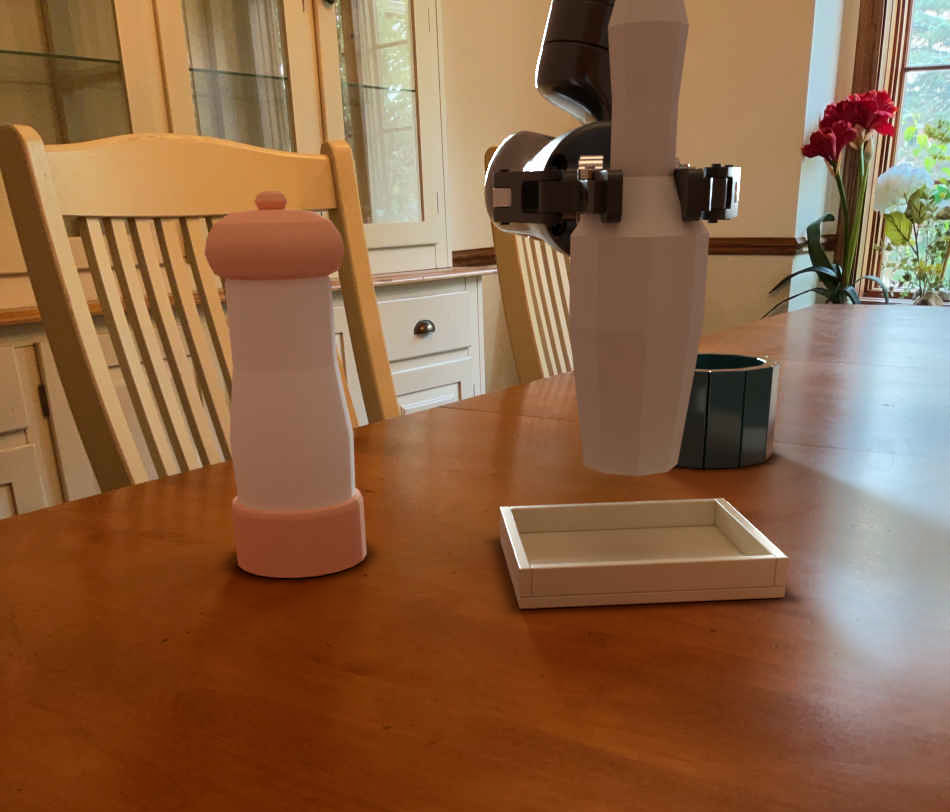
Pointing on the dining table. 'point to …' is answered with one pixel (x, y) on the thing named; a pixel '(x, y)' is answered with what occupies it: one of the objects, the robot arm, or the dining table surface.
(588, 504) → the tray
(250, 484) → the salt shaker
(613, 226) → the faceted bottle
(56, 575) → the dining table surface
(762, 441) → the holder
